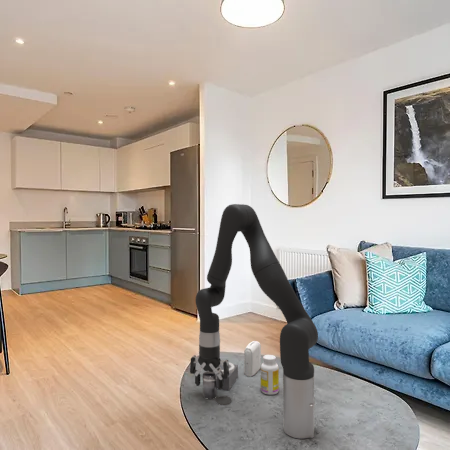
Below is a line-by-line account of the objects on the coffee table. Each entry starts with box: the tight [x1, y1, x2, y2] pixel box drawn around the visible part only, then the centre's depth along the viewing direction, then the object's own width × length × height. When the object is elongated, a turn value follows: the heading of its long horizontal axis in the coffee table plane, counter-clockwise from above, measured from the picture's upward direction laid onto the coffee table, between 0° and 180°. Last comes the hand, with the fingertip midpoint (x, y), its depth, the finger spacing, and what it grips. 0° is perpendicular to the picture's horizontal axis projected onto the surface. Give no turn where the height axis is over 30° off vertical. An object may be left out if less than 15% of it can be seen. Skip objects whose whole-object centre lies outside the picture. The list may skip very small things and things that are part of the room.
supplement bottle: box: [260, 354, 280, 396], centre depth 135 cm, size 7×7×13 cm
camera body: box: [213, 362, 239, 391], centre depth 143 cm, size 9×12×6 cm
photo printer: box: [243, 340, 262, 377], centre depth 153 cm, size 10×4×12 cm, turn 152°
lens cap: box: [215, 395, 233, 406], centre depth 128 cm, size 6×6×1 cm
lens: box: [202, 371, 218, 400], centre depth 132 cm, size 5×5×8 cm
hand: (209, 387), depth 132 cm, fingers open, 8 cm apart
